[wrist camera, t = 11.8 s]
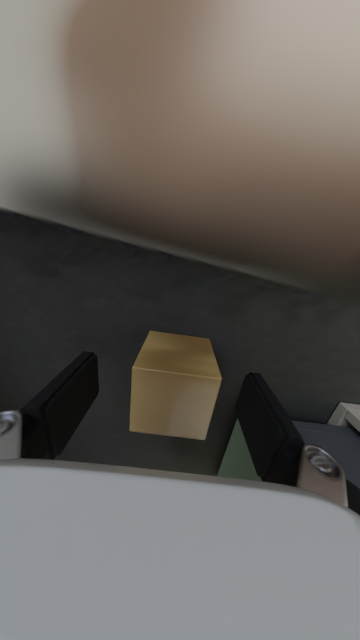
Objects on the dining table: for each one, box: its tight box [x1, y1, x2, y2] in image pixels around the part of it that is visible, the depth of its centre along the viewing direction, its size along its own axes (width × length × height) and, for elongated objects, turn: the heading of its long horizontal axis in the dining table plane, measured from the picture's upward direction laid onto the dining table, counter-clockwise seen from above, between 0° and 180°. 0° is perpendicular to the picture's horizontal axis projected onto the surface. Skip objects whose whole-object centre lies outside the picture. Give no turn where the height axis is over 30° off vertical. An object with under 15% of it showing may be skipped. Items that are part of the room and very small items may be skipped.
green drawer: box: [217, 418, 360, 488], centre depth 11 cm, size 18×11×8 cm, turn 82°
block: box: [130, 331, 222, 440], centre depth 11 cm, size 4×4×4 cm
